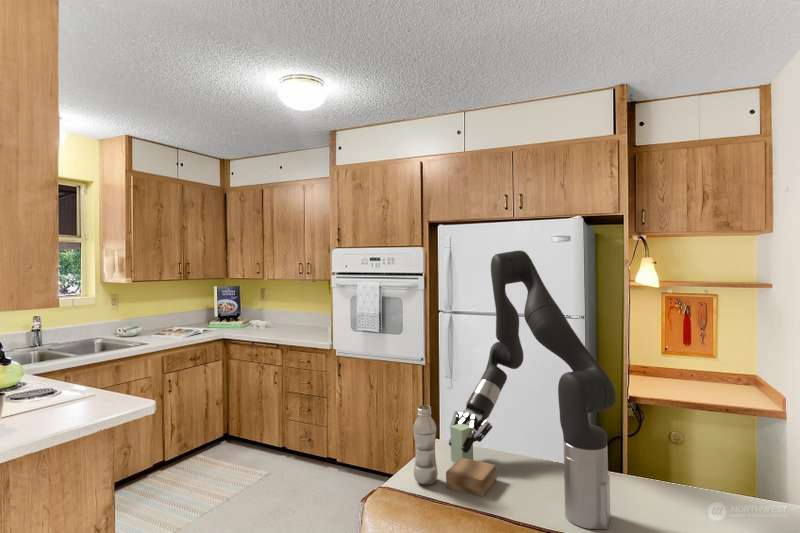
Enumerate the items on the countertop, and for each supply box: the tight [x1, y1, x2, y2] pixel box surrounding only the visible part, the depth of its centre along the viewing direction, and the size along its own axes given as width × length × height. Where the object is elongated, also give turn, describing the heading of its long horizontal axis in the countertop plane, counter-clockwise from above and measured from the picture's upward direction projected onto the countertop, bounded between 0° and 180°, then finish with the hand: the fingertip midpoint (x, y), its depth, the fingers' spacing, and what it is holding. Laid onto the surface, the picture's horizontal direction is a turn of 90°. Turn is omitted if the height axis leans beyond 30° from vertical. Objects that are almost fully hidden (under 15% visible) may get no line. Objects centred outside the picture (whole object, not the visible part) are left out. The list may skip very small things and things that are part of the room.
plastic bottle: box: [412, 405, 439, 485], centre depth 121 cm, size 6×7×20 cm
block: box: [449, 423, 474, 464], centre depth 132 cm, size 4×4×10 cm
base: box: [445, 458, 497, 497], centre depth 119 cm, size 10×10×4 cm
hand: (457, 448), depth 130 cm, fingers closed on block, 4 cm apart
